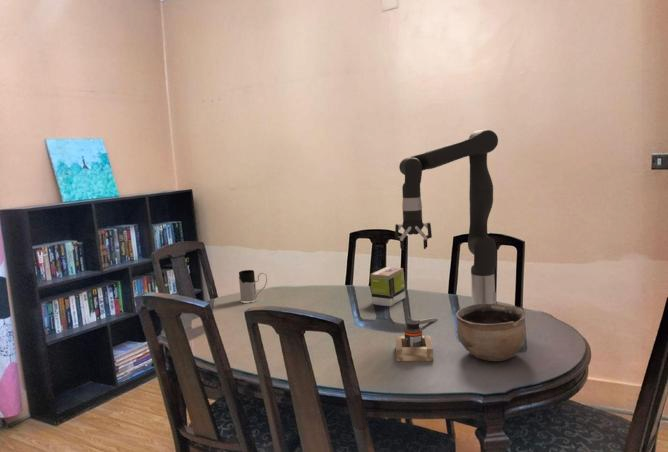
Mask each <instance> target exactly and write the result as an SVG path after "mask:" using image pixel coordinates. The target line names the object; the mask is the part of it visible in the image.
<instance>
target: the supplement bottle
mask: <svg viewBox="0 0 668 452" xmlns="http://www.w3.org/2000/svg"><path fill="white" fill-rule="evenodd" d="M416 320H417V319H413V320H410V321H408V320H407V321H406V327H405V328H404V336H405V347H423V341H422V336H423V330H422V327H420V325H419V322H418V321H416Z"/></svg>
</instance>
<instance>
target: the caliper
mask: <svg viewBox="0 0 668 452" xmlns="http://www.w3.org/2000/svg"><path fill="white" fill-rule="evenodd" d="M410 320H414V318H413V317H408V319H407V321H410ZM415 320H416V321H418V322H419V326H420V325H425V324H429V323H435V322H437V321H439V319H438V318H437V317H431V318H424V319H415Z"/></svg>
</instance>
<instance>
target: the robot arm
mask: <svg viewBox="0 0 668 452" xmlns="http://www.w3.org/2000/svg"><path fill="white" fill-rule="evenodd" d="M498 144H499V138H498V135H497V133H495V132H494V131H493V130H491V129H481V130H480V129H478V130H475V131H473V132H471V134H470V135H469V137H468V139H465V140H462V141H459V142H456V143H451V144H448V145H443V146H440V147H437V148H433V149H431V150H428V151H425V152H423V153H420V154H415V155H412V156H409V157H406V158H403V159H402V160H401V162H400V163H399V165H398V169H399V171H400V173H401V174H402V175H404V183H403V184H402V188H401V189H402V204H401V205H402V224H398V223H396V224H395V226H394V228H395V230H394V233H395V234H394V237H395V240H397V241H399V247H400V249H401V250H402V251H404V250H405V242H404V240H405V238H406V237H407V236H408V235H409V236H411V235H420V236H421V237H422V238H423V250H426V249H427V248H428V240H429V239H431V238H432V237H433V236H432V225H431V222H429V221H428V222H425V223H424V222H423V204H422V198H421V197H422V196H421V182H422V176H423V171H426V170H433V169H435V168H438V167H441V166H445V165H447V164H449V163H453V162H455V161H457V160H460V159H463V158H466V157H468V161H469V190H468V191H469V231H468V238H467V239H468V240H467V248H468V250H469V252H470V253H471V254H472V255H473V265H471V267H470V280H471V281H470V282H471V283H470V285H471V286H470V287H471V291H470V293H471V305H475V304H484V303H489V304H497V292H496V289H495V284H496V283H495V270H496V268H497V245H496V242H495V240H494V239H493V238H492V237H490V236H489V234H488V219H489V216H490V213H491V212H492V211H491V210H492V208H493V204H494V185H493V180H492V178H491V175H490V172H489V168H488V153H491V152H494V150H495V149H496V148H497V146H498ZM424 227H425V229H427V235H426V234H425V233H424V231H423V230H422V229H423V228H424ZM401 228H402V229H403V230H404V231H403V232H402V234H401V235H400V236H399V231H401Z"/></svg>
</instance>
